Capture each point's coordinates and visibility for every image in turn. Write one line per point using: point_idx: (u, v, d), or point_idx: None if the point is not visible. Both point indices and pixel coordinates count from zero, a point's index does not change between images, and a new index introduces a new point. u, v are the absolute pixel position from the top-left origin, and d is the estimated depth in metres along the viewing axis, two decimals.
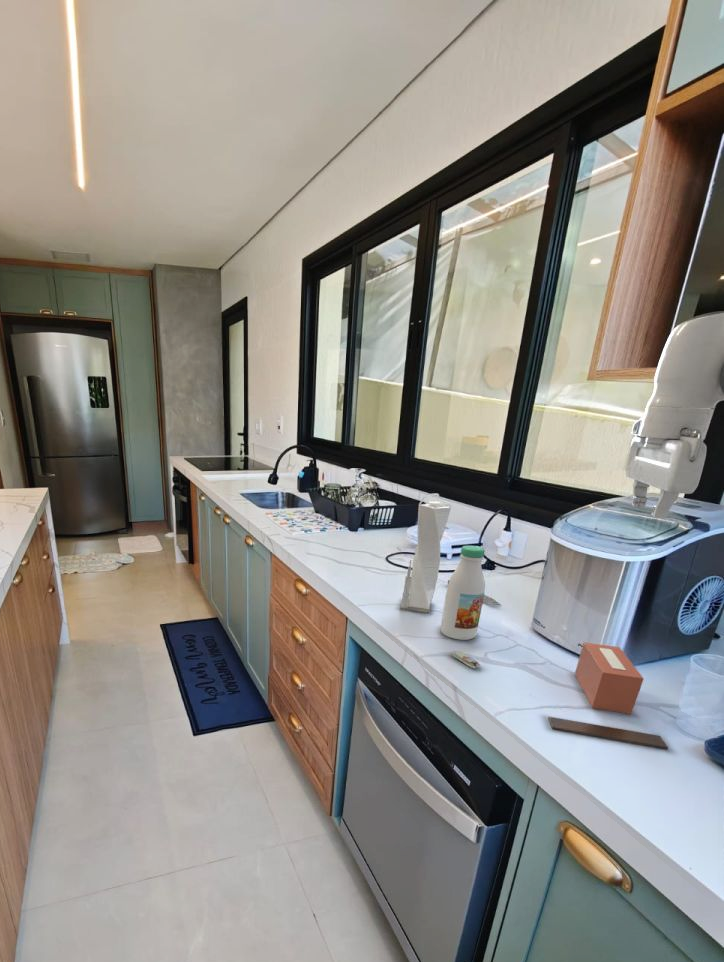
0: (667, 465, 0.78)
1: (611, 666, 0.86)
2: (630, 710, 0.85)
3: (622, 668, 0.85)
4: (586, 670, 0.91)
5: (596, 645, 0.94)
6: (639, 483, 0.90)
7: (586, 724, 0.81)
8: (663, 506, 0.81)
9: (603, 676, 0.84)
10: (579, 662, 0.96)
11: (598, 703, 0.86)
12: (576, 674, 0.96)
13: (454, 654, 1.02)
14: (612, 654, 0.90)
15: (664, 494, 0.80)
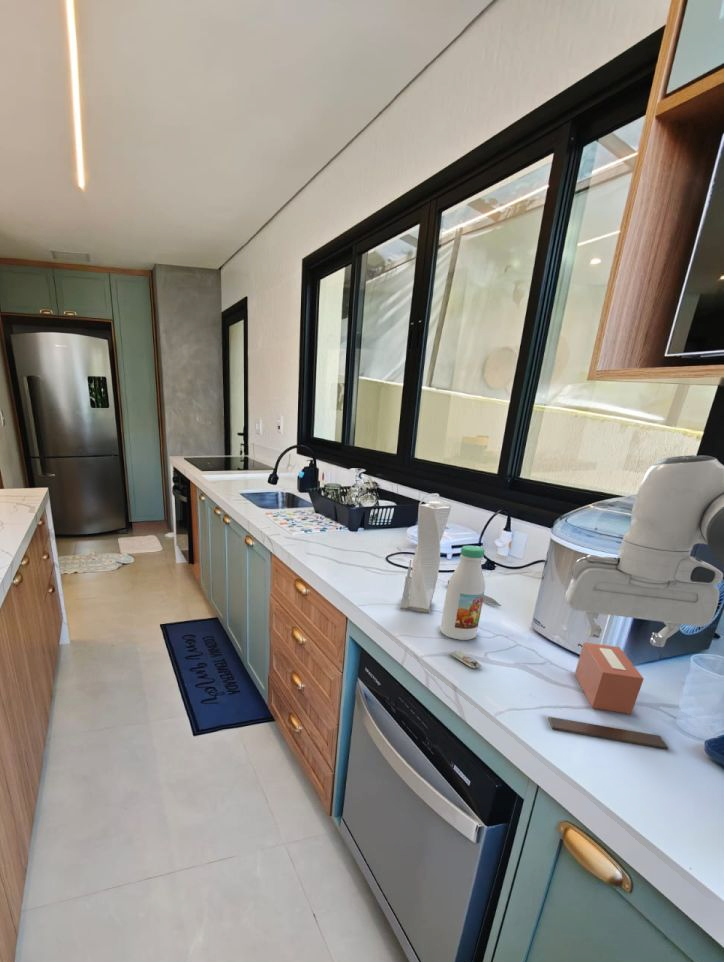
0: None
1: (611, 666, 0.86)
2: (630, 710, 0.85)
3: (622, 668, 0.85)
4: (586, 670, 0.91)
5: (596, 645, 0.94)
6: (666, 622, 0.82)
7: (586, 724, 0.81)
8: (589, 624, 0.85)
9: (603, 676, 0.84)
10: (579, 662, 0.96)
11: (598, 703, 0.86)
12: (576, 674, 0.96)
13: (454, 654, 1.02)
14: (612, 654, 0.90)
15: None
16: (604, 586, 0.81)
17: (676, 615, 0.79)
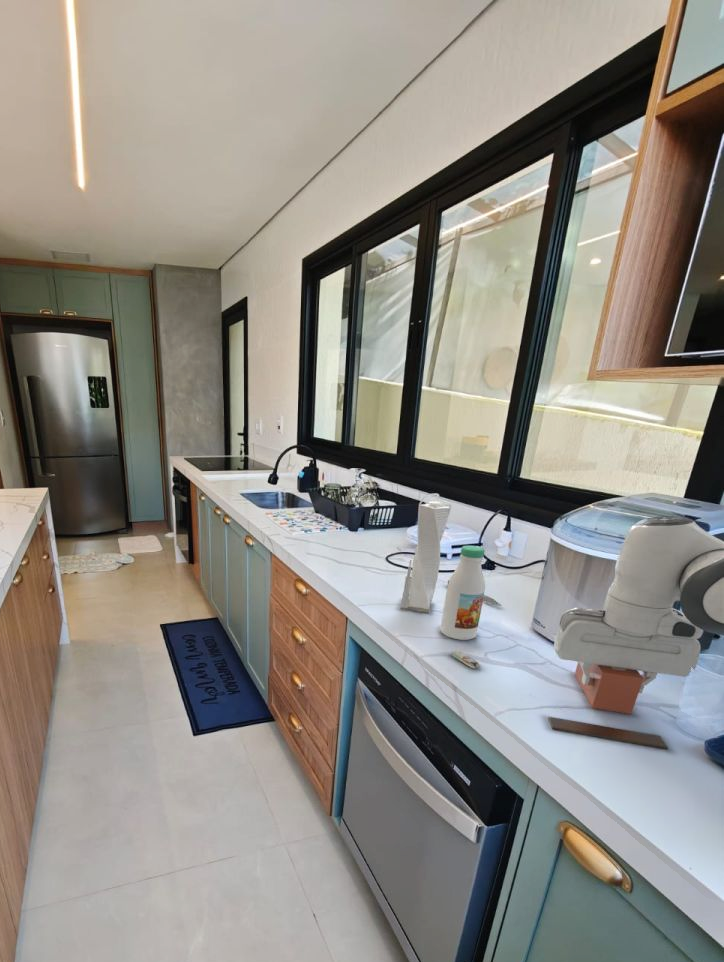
0: None
1: (611, 666, 0.86)
2: (630, 710, 0.85)
3: (622, 668, 0.85)
4: None
5: None
6: None
7: (586, 724, 0.81)
8: (584, 672, 0.88)
9: (603, 676, 0.84)
10: None
11: (598, 703, 0.86)
12: (576, 674, 0.96)
13: (454, 654, 1.02)
14: None
15: None
16: (590, 637, 0.84)
17: (660, 666, 0.82)
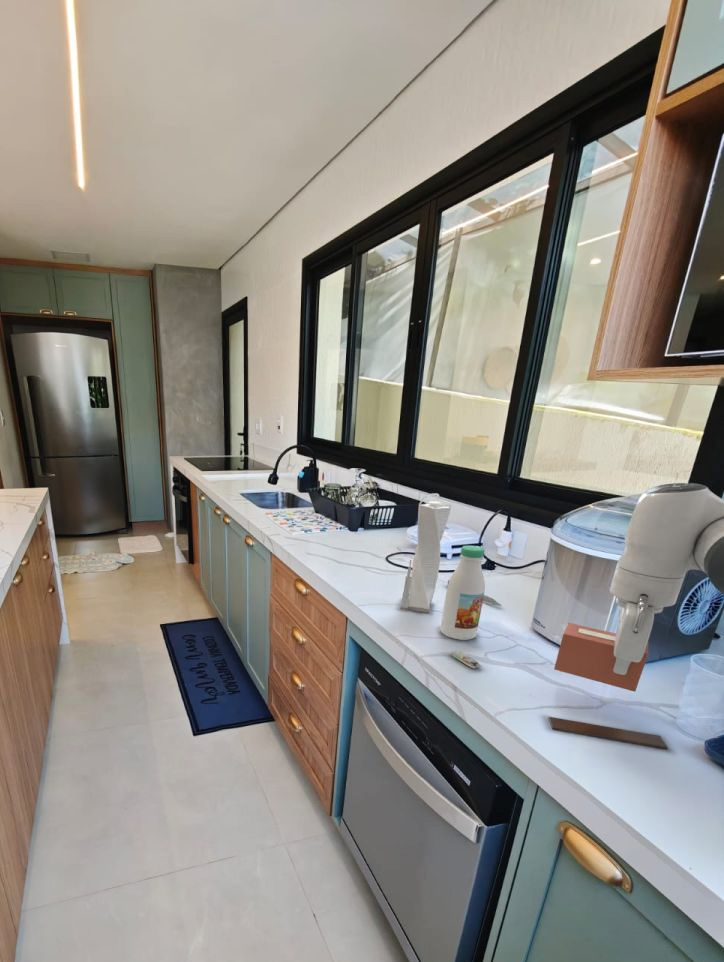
0: (620, 629, 0.78)
1: None
2: None
3: None
4: (593, 659, 0.84)
5: (569, 631, 0.87)
6: None
7: (586, 724, 0.81)
8: (621, 663, 0.81)
9: (646, 657, 0.80)
10: (563, 655, 0.87)
11: (637, 684, 0.82)
12: (561, 668, 0.88)
13: (454, 654, 1.02)
14: (594, 632, 0.86)
15: None
16: None
17: None
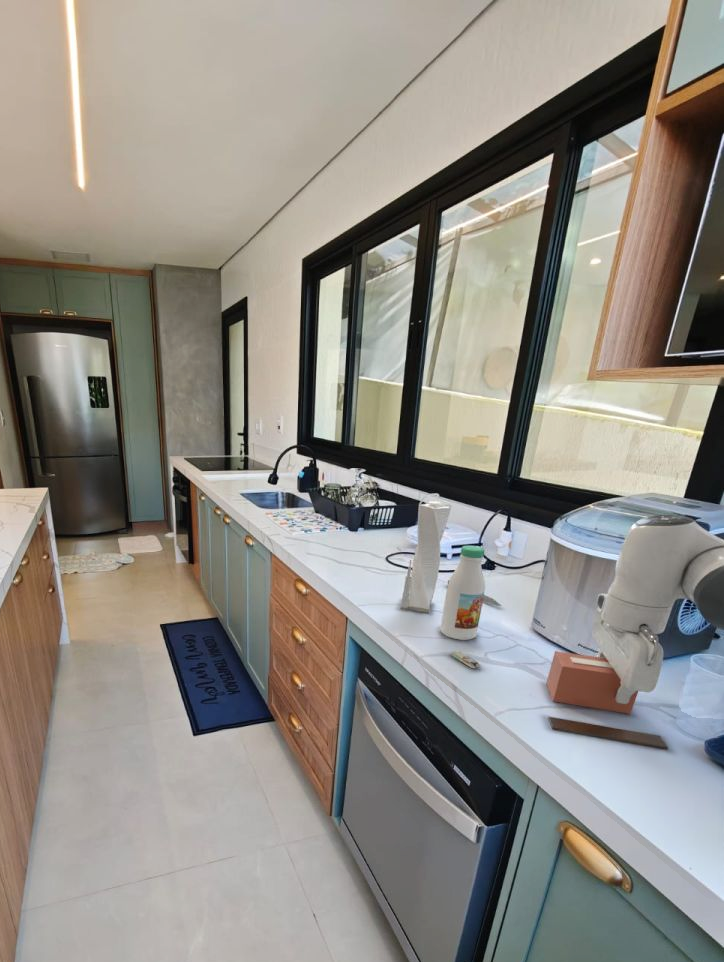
0: (626, 660, 0.79)
1: None
2: None
3: None
4: (591, 688, 0.86)
5: (564, 661, 0.87)
6: None
7: (586, 724, 0.81)
8: (624, 693, 0.82)
9: None
10: (562, 687, 0.87)
11: None
12: (560, 699, 0.88)
13: (454, 654, 1.02)
14: (585, 660, 0.88)
15: (624, 685, 0.80)
16: None
17: None
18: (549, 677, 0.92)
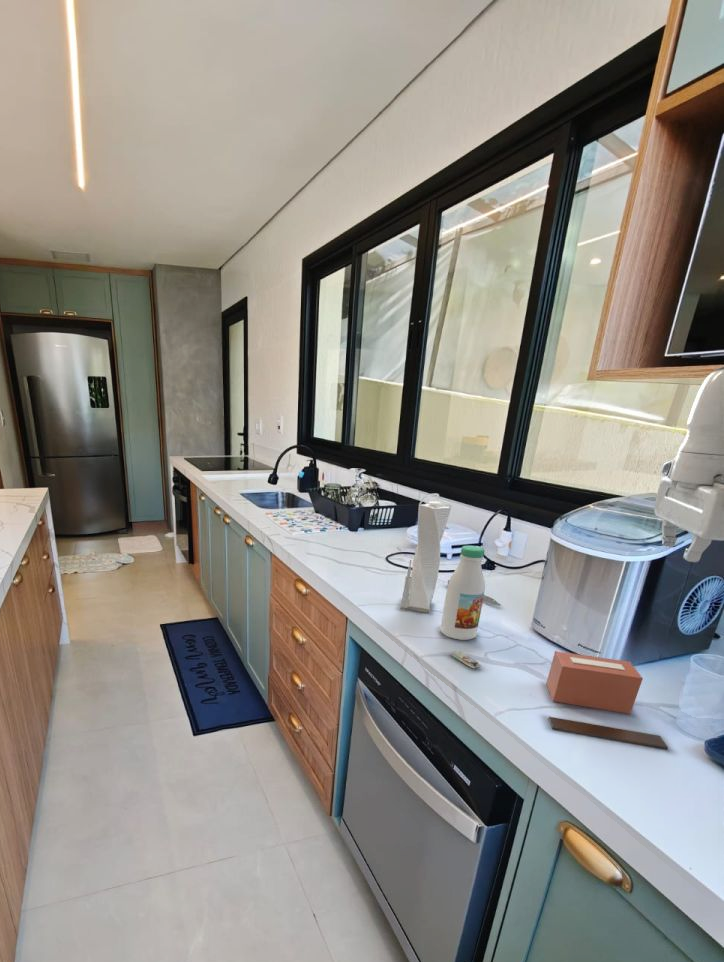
0: (701, 511, 0.78)
1: (620, 669, 0.85)
2: None
3: (619, 665, 0.86)
4: (591, 688, 0.86)
5: (564, 661, 0.87)
6: (669, 523, 0.90)
7: (586, 724, 0.81)
8: (695, 550, 0.81)
9: (641, 681, 0.83)
10: (562, 687, 0.87)
11: None
12: (560, 699, 0.88)
13: (454, 654, 1.02)
14: (585, 660, 0.88)
15: (697, 539, 0.80)
16: None
17: None
18: (549, 677, 0.92)
